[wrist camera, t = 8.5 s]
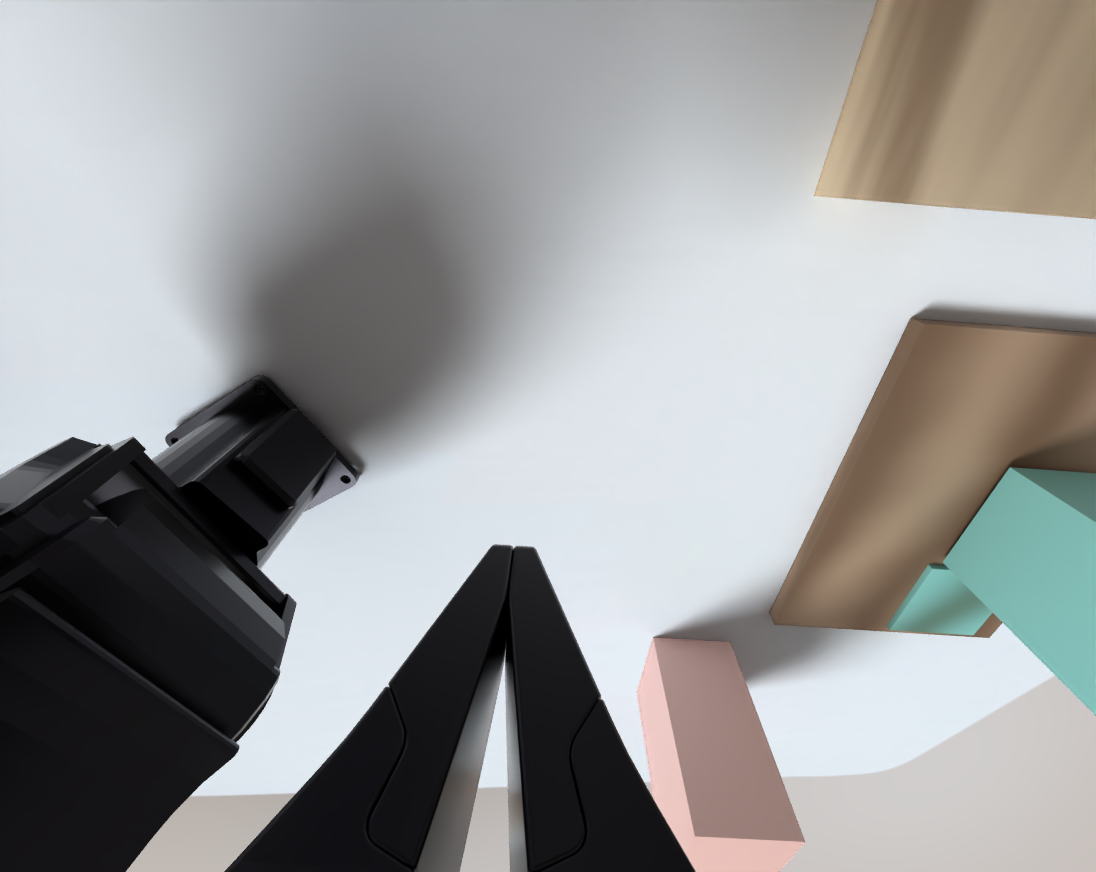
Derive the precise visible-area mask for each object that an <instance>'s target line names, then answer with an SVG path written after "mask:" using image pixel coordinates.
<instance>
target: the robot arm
mask: <svg viewBox="0 0 1096 872" xmlns="http://www.w3.org/2000/svg"><path fill="white" fill-rule="evenodd" d="M258 385H261V386H262V387H263V388H264V389H265V391H263V390H261V389H260V388H259V386H258ZM165 440H166V443H167V444H168V445H169V448H167V449H166V450H165V451H163V452H162V453H160V454H159V455H158V456H156V457H155V458H153V459H152V460H151V459H150V458H149V457H148V456H147V455H146V454H145V453H144V451H145V450H146V449H145V448H144V447H143V446H142V445H141V444H140V443H139V442H138V441H137V440H136V439H135V438H134V437H131V438H129V439H126V440H124V441H122V442H119V443H117V444H114V445H112V446H110V445H109V444H105V445H101V444H98V445H96V444H93V443H90V442H86V441H83V440H80V439H77V438H74V437H72V438H69V439H67V440H65V441H63V442H60V443H58V444H56V445H54V446H53V447H51V448H49V449H47V450H45V451H43V452H41V453H40V454H38V455H36V456H34V457H32V458H30V459H28V460H27V461H25V462H23V463H21V464H19V465H17V466H16V467H14V468H12V469H10V470H9V471H7V472H5V473H3V474H2V475H0V872H126V870H127V869H128V868H129V867H130V865H131V864H132V863H133V862H134V860H135V859H136V858H137V857H138V855H139V854H140V853H141V851H142V850H143V849H144V847H145V846H146V845H147V843H148V842H149V841H150V840H151V839H152V838H153V836H154V835H155V834H156V833H157V832H158V830H159V829H160V828H161V827H162V825H163V824H164V823H165V822H166V821H167V820H168V818H169V817H170V816H171V815H172V814H173V813H174V812H175V810H176V809H178V807H180V805H181V804H182V803H183V802H184V801H185V800H186V799H187V798H188V797H189V796H190V795H191V794H192V793H193V792H194V791H195V790H196V789H197V788H198V787H199V786H200V785H201V784H202V783H203V782H204V781H206V780H207V779H208V778H209V777H210V776H212V775H213V774H214V773H215V772H216V771H218V770H219V769H220V768H221V767H222V766H224V765H225V764H226V763H227V762H228V761H230V760H231V759H232V758H233V757H234V756H235V755H236V753H237V752H238V750H239V745H238V744H237V743H236V742H237V741H238V740H239V739H240V738H241V737H242V736H243V735H244V734H245V733H246V731H247V730H248V729H249V728H250V727H251V726H252V725H253V723H254V722H255V721H256V719H257V718H258V716H259V715H260V713H261V712H262V711H263V709H264V707H265V706H266V704H267V702H268V700H269V698H270V697H271V694H272V692H273V689H274V687H275V685H276V684H277V682H278V679H279V675H280V670H279V668H280V665H281V661H282V657H283V653H284V649H285V646H286V642H287V638H288V634H289V631H290V627H291V623H292V619H293V615H294V612H295V608H296V602H295V601H294V600H293V599H292V598H291V597H290V596H289V595H288V594H284V593H283V592H282V591H281V590H280V589H279V588H278V587H277V586H276V585H275V584H274V583H273V582H272V581H271V580H270V579H269V578H268V577H267V576H266V575H265V574H264V573H263V572H262V571H261V570H260V569H261V568H262V566H263V565H264V564H265V562H266V561H267V560H268V558H269V557H270V556H271V554H272V553H273V552H274V550H275V549H276V548H277V546H278V545H279V544H280V542H281V541H282V540H283V538H284V537H285V536H286V534H287V533H288V532H289V530H290V529H291V528H292V526H293V525H294V524H295V522H296V521H297V520H298V518H299V517H300V516H301V514H302V513H303V512H305V511H307V510H309V509H311V508H313V507H315V506H316V505H318V504H320V503H322V502H324V501H326V500H328V499H330V498H332V497H334V496H336V495H338V494H339V493H341V492H343V491H345V490H347V489H349V488H351V487H353V486H354V485H355V484H356V482H357V481H358V478H359V474H358V472H357V471H356V470H355V469H354V468H353V467H352V466H351V464H350V463H349V462H348V461H347V460H346V459H345V458H344V457H343V456H342V455H341V454H340V453H339V452H338V451H337V450H336V449H335V447H334V446H333V445H332V444H331V443H330V442H329V441H328V440H327V439H326V438H325V437H324V436H323V435H322V434H321V433H320V431H319V430H318V429H317V428H316V427H315V426H314V425H313V424H312V423H311V422H310V421H309V420H308V419H307V418H306V417H305V416H304V414H303V413H302V412H301V411H300V410H299V409H298V408H297V407H296V406H295V405H294V404H293V403H292V402H291V401H290V400H289V398H288V397H287V396H286V395H285V394H284V393H283V392H282V391H281V390H280V389H279V388H278V387H277V386H276V385H275V384H274V383H273V381H271V380H270V379H269V378H267V377H265V376H257V377H254V378H253V379H251V380H250V381H248V382H247V383H245V384H244V385H242V386H241V387H239V388H238V389H236V390H235V391H233V392H232V393H230V394H229V395H227V396H225V397H224V398H222V399H221V400H219V401H218V402H216V403H215V404H213V405H212V406H210V407H209V408H207V409H206V410H204V411H203V412H201V413H199V414H198V415H196V416H195V417H193V418H192V419H190V420H189V421H187V422H186V423H184V424H183V425H181V426H180V427H178V428H177V429H175V430H174V431H172V432H171V433H169V434H168V435H167V436H166V439H165ZM344 475H346V476H348V477H350V479H347V478H346V477H345V476H344ZM505 651H506V655H505ZM504 659H505V688H506V729H507V770H508V809H509V848H510V872H696V871H695V869H694V867H693V866H692V864H691V862H690V861H689V859H688V857H687V855H686V854H685V852H684V850H683V849H682V847H681V845H680V843H679V842H678V840H677V838H676V837H675V835H674V833H673V831H672V830H671V828H670V826H669V825H668V823H667V821H666V820H665V818H664V816H663V814H662V813H661V811H660V809H659V808H658V806H657V804H656V802H655V801H654V799H653V797H652V796H651V794H650V792H649V790H648V789H647V787H646V785H645V783H644V781H643V779H642V778H641V776H640V774H639V772H638V770H637V769H636V767H635V765H634V763H633V761H632V759H631V758H630V756H629V754H628V752H627V750H626V748H625V746H624V744H623V742H622V740H621V737H620V735H619V733H618V731H617V729H616V727H615V725H614V723H613V721H612V719H611V716H610V714H609V712H608V710H607V707H606V705H605V703H604V701H603V700H602V699H601V694H600V692H599V690H598V688H597V685H596V683H595V681H594V679H593V676H592V674H591V672H590V670H589V667H588V665H587V663H586V661H585V658H584V656H583V654H582V652H581V649H580V647H579V645H578V643H577V640H576V638H575V636H574V634H573V631H572V629H571V627H570V625H569V622H568V620H567V618H566V616H565V613H564V611H563V609H562V607H561V604H560V602H559V600H558V598H557V596H556V593H555V591H554V589H553V587H552V584H551V582H550V580H549V578H548V575H547V573H546V571H545V569H544V566H543V564H542V562H541V560H540V557H539V555H538V553H537V551H536V549H535V548H534V547H527V546H516V547H515V548H514V549H513V547H512V546H511V545H497V544H495V545H493V546H492V547H491V548H490V549H489V550H488V552H487V553H486V554H485V556H484V557H483V558H482V560H481V561H480V562H479V564H478V565H477V566H476V567H475V569H474V570H473V571H472V573H471V574H470V575H469V577H468V578H467V579H466V581H465V582H464V583H463V585H462V586H461V587H460V589H459V590H458V591H457V593H456V594H455V595H454V597H453V598H452V599H451V601H450V602H449V603H448V605H447V606H446V607H445V609H444V610H443V611H442V613H441V614H440V615H439V617H438V618H437V619H436V621H435V622H434V623H433V625H432V626H431V627H430V629H429V630H428V631H427V633H426V634H425V635H424V637H423V638H422V639H421V641H420V642H419V643H418V645H417V646H416V647H415V649H414V650H413V651H412V653H411V654H410V655H409V657H408V658H407V659H406V661H405V662H404V663H403V665H402V666H401V667H400V669H399V670H398V671H397V673H396V674H395V675H394V677H393V678H392V679H391V681H390V682H389V687H385V688H384V690H383V691H382V692H381V694H380V695H379V696H378V698H377V699H376V700H375V702H374V703H373V704H372V706H371V707H370V708H369V709H368V711H367V712H366V713H365V714H364V716H363V717H362V718H361V719H360V721H359V722H358V723H357V724H356V726H355V727H354V728H353V730H352V731H351V732H350V733H349V735H348V736H347V737H346V738H345V739H344V741H343V742H342V743H341V744H340V745H339V746H338V747H337V749H336V750H335V751H334V752H333V753H332V754H331V755H330V757H329V758H328V759H327V760H326V761H325V762H324V763H323V764H322V766H321V767H320V768H319V769H318V770H317V771H316V772H315V774H314V775H313V776H312V777H311V778H310V779H309V780H308V781H307V782H306V783H305V784H304V786H303V787H302V788H301V789H300V790H299V791H298V792H297V793H296V794H295V795H294V796H293V798H292V799H291V800H290V801H289V802H288V803H287V804H286V805H285V806H284V807H283V808H282V810H281V811H280V812H279V813H278V814H277V815H276V816H275V817H274V818H273V819H272V821H271V822H270V823H269V824H268V825H267V826H266V827H265V828H264V829H263V830H262V831H261V833H260V834H259V835H258V836H257V837H256V838H255V839H254V840H253V841H252V842H251V844H250V845H249V846H248V847H247V848H246V849H245V850H244V851H243V852H242V853H241V854H240V856H239V857H238V858H237V859H236V860H235V861H234V862H233V863H232V864H231V865H230V866H229V867H228V868H227V869H226V870H225V872H460V867H461V862H462V858H463V853H464V848H465V844H466V839H467V834H468V829H469V825H470V820H471V815H472V811H473V806H474V802H475V797H476V792H477V788H478V783H479V778H480V774H481V769H482V764H483V760H484V755H485V750H486V746H487V741H488V736H489V732H490V727H491V722H492V718H493V713H494V708H495V704H496V699H497V694H498V690H499V685H500V680H501V676H502V670H503V665H504Z"/></svg>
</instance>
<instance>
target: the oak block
mask: <svg viewBox="0 0 1096 872" xmlns="http://www.w3.org/2000/svg"><path fill="white" fill-rule="evenodd" d="M814 196H821V197H833V198H845V199H857V200H869V201H881V202H892V203H904V204H916V205H928V206H940V207H952V208H964V209H977V210H989V211H1002V212H1014V213H1027V214H1039V215H1052V216H1064V217H1077V218H1089V219H1096V0H877V3H876V6H875V9H874V12H873V15H872V18H871V21H870V24H869V27H868V30H867V33H866V36H865V40H864V43H863V46H862V49H861V52H860V55H859V58H858V61H857V64H856V67H855V70H854V73H853V76H852V80H851V83H850V86H849V89H848V92H847V95H846V98H845V101H844V104H843V107H842V110H841V113H840V117H839V120H838V123H837V126H836V129H835V132H834V135H833V138H832V141H831V144H830V147H829V150H828V153H827V157H826V160H825V163H824V166H823V169H822V172H821V175H820V178H819V181H818V184H817V187H816V190H815V194H814Z"/></svg>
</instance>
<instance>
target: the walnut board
mask: <svg viewBox="0 0 1096 872" xmlns="http://www.w3.org/2000/svg"><path fill="white" fill-rule="evenodd" d="M1010 467H1013V468H1027V469H1041V470H1055V471H1069V472H1083V473H1096V333H1088V332H1076V331H1063V330H1050V329H1038V328H1025V327H1013V326H1000V325H987V324H975V323H962V322H949V321H937V320H924V319H912V318H911V319H910V321H909V323H908V325H907V327H906V329H905V331H904V333H903V335H902V337H901V339H900V342H899V344H898V346H897V348H896V350H895V352H894V354H893V356H892V358H891V360H890V362H889V365H888V367H887V369H886V371H885V373H884V375H883V377H882V379H881V381H880V383H879V385H878V387H877V390H876V392H875V394H874V396H873V398H872V400H871V402H870V404H869V406H868V408H867V410H866V413H865V415H864V417H863V419H862V421H861V423H860V425H859V427H858V429H857V431H856V433H855V436H854V438H853V440H852V442H851V444H850V446H849V448H848V450H847V452H846V454H845V456H844V458H843V461H842V463H841V465H840V467H839V469H838V471H837V473H836V475H835V477H834V479H833V481H832V484H831V486H830V488H829V490H828V492H827V494H826V496H825V498H824V500H823V502H822V504H821V507H820V509H819V511H818V513H817V515H816V517H815V519H814V521H813V523H812V525H811V527H810V529H809V532H808V534H807V536H806V538H805V540H804V542H803V544H802V546H801V548H800V550H799V552H798V555H797V557H796V559H795V561H794V563H793V565H792V567H791V569H790V571H789V573H788V575H787V578H786V580H785V582H784V584H783V586H782V588H781V590H780V592H779V594H778V596H777V598H776V600H775V603H774V605H773V607H772V609H771V611H770V615H771V617H772V619H773V622H774V624H775V625H791V626H807V627H823V628H839V629H855V630H871V631H887V632H903V633H919V634H935V635H951V636H967V637H983V638H989V637H990V636H991V635H992V634H993V633H994V632H995V631H996V629H997V628H998V627H999V626H1000V625H1001V624H1002V623H1003V622H1002V621H1001V620H1000V619H999V618H998V617H997V616H996V615H995V614H994V613H993V612H992V611H991V610H990V609H989V608H988V607H987V606H986V605H985V604H984V603H983V602H982V601H981V600H980V599H979V598H978V597H977V596H976V595H975V594H974V593H973V592H972V591H971V590H970V589H969V588H968V587H967V586H966V585H965V584H964V583H963V582H962V581H961V580H960V579H959V578H958V577H957V576H956V575H955V574H954V573H953V572H952V571H951V570H950V569H949V568H948V567H947V566H946V565H945V564H944V563H943V561H944V560H945V558H946V557H947V555H948V554H949V553H950V551H951V550H952V548H953V547H954V546H955V544H956V543H957V541H958V540H959V538H960V537H961V536H962V534H963V533H964V531H965V530H966V529H967V527H968V526H969V524H970V523H971V522H972V520H973V519H974V517H975V516H976V514H977V513H978V512H979V510H980V509H981V507H982V506H983V505H984V503H985V502H986V500H987V499H988V497H989V496H990V495H991V493H992V492H993V490H994V489H995V488H996V486H997V485H998V483H999V482H1000V481H1001V479H1002V478H1003V476H1004V475H1005V473H1006V472H1007V471H1008V469H1009V468H1010Z"/></svg>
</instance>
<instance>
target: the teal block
mask: <svg viewBox="0 0 1096 872" xmlns="http://www.w3.org/2000/svg"><path fill="white" fill-rule="evenodd" d="M943 563H944V564H945V565H946V566H947V567H948V568H949V569H950V570H951V571H952V572H953V573H954V574H955V575H956V576H957V577H958V578H959V579H960V580H961V581H962V582H963V583H964V584H965V585H966V586H967V587H968V588H969V589H970V590H971V591H972V592H973V593H974V594H975V595H976V596H977V597H978V598H979V599H980V600H981V601H982V602H983V603H984V604H985V605H986V606H987V607H988V608H989V609H990V610H991V611H992V612H993V613H994V614H995V615H996V616H997V617H998V618H999V619H1000V620H1001V621H1002V622H1003V623H1004V624H1005V625H1006V626H1007V627H1008V628H1009V629H1010V630H1011V631H1012V632H1013V633H1014V634H1015V635H1016V636H1017V637H1018V638H1019V639H1020V640H1021V641H1022V642H1023V643H1024V644H1025V645H1026V646H1027V647H1028V648H1029V649H1030V650H1031V651H1032V652H1033V653H1034V654H1035V655H1036V656H1037V657H1038V658H1039V659H1040V660H1041V661H1042V662H1043V663H1044V664H1045V665H1046V666H1047V667H1048V668H1049V669H1050V670H1051V671H1052V672H1053V673H1054V674H1055V675H1056V676H1057V677H1058V678H1059V679H1060V680H1061V681H1062V682H1063V683H1064V684H1065V685H1066V686H1067V687H1068V688H1069V689H1070V690H1071V691H1072V692H1073V693H1074V694H1075V695H1076V696H1077V697H1078V698H1079V699H1080V700H1081V701H1082V702H1083V703H1084V704H1085V705H1086V706H1087V707H1088V708H1089V709H1090V710H1091V711H1092V712H1093V713H1094V714H1095V715H1096V473H1083V472H1069V471H1055V470H1041V469H1027V468H1013V467H1010V468H1009V469H1008V471H1007V472H1006V473H1005V475H1004V476H1003V478H1002V479H1001V481H1000V482H999V483H998V485H997V486H996V488H995V489H994V490H993V492H992V493H991V495H990V496H989V497H988V499H987V500H986V502H985V503H984V505H983V506H982V507H981V509H980V510H979V512H978V513H977V514H976V516H975V517H974V519H973V520H972V522H971V523H970V524H969V526H968V527H967V529H966V530H965V531H964V533H963V534H962V536H961V537H960V538H959V540H958V541H957V543H956V544H955V546H954V547H953V548H952V550H951V551H950V553H949V554H948V555H947V557H946V558H945V560H944V561H943Z"/></svg>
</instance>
